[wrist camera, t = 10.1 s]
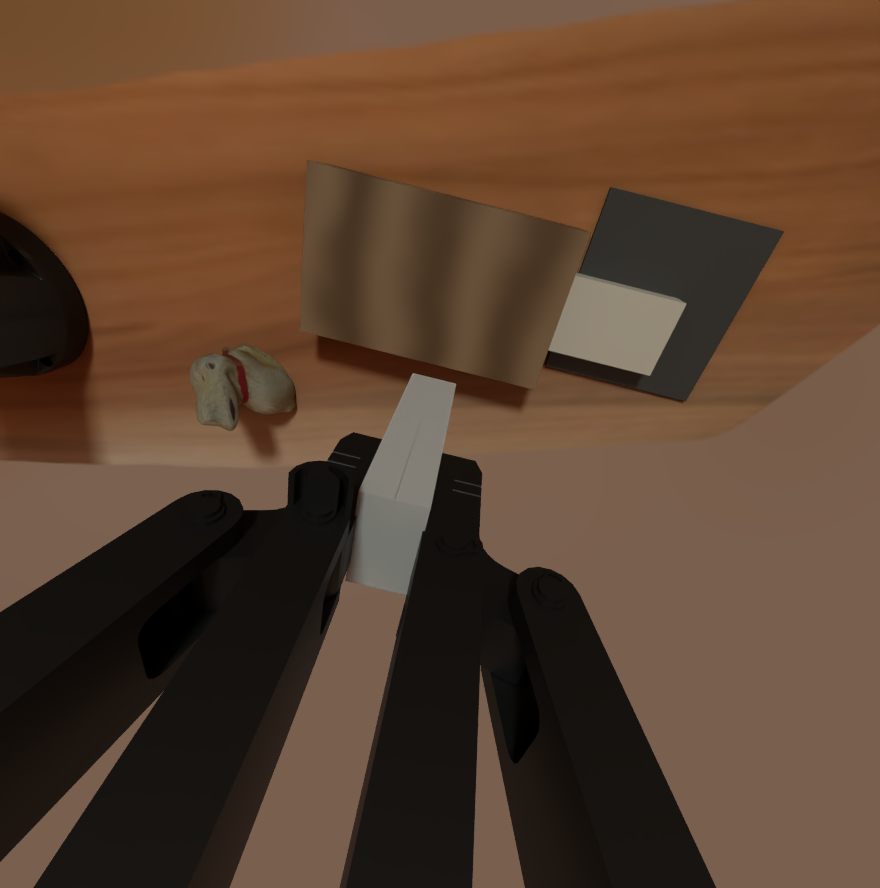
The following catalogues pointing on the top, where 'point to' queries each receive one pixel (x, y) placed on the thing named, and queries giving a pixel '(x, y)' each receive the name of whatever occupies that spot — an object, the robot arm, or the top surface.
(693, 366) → the mat
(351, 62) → the top surface
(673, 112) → the top surface
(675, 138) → the top surface
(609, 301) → the block
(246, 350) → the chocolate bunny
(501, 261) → the brown wooden flat slab
